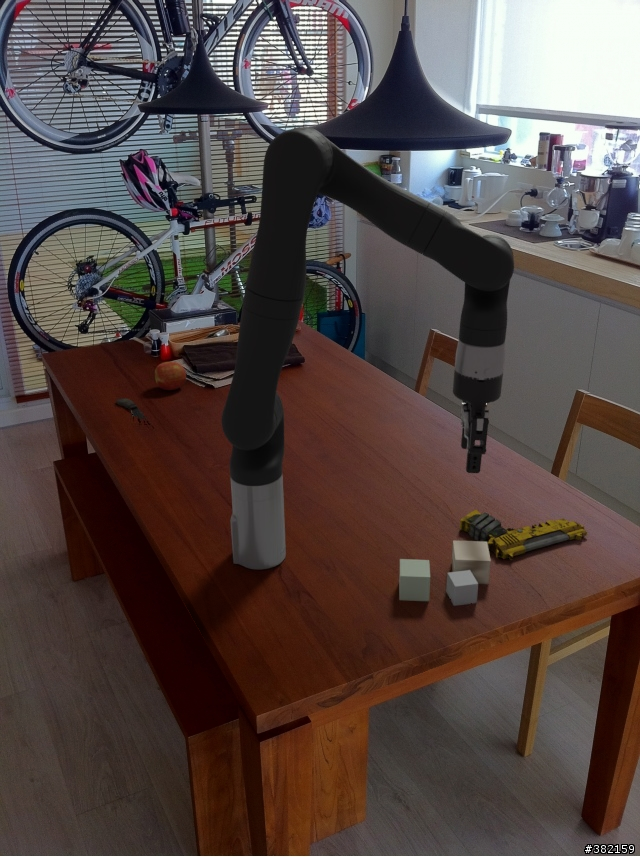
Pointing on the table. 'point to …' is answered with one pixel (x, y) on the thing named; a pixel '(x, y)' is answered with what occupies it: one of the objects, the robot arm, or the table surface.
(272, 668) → the table surface
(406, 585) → the green cube
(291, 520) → the table surface
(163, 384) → the apple
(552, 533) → the toy gun
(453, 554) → the maple block
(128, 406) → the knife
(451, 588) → the grey block
